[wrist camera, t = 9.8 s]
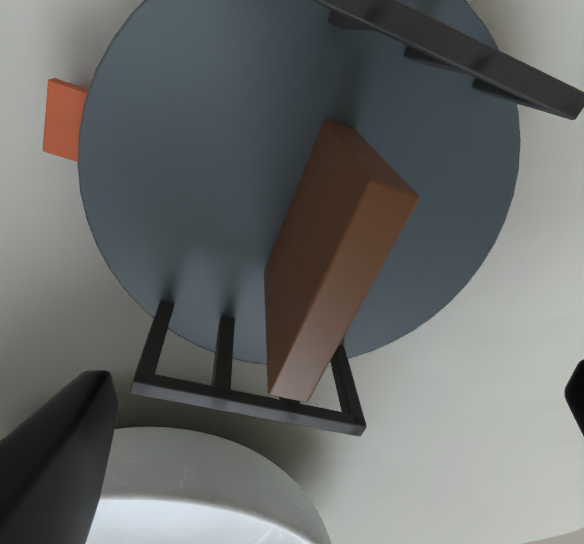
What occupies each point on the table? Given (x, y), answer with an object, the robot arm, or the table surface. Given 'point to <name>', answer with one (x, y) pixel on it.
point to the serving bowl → (198, 493)
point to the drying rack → (295, 180)
